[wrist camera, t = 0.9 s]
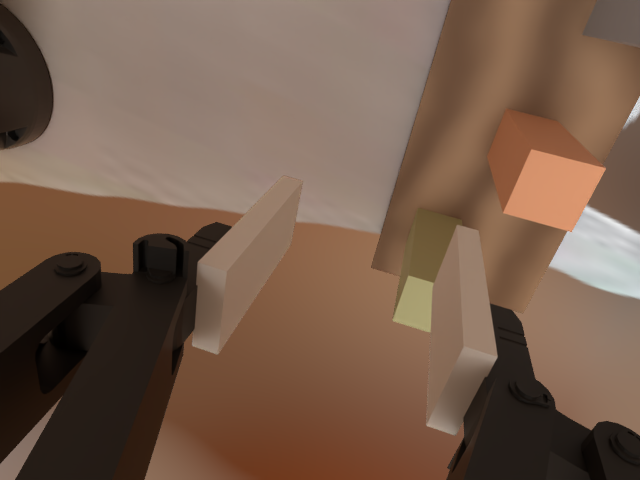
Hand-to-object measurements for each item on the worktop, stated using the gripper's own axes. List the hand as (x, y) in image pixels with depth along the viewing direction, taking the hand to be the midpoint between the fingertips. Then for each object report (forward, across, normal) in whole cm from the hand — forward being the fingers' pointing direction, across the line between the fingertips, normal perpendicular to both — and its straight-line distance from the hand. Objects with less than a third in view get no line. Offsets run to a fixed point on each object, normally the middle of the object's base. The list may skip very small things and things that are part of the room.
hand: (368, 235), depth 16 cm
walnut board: (+25, +8, 0) cm, 26 cm away
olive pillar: (+24, +5, -10) cm, 26 cm away
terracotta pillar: (+24, +9, 0) cm, 25 cm away
